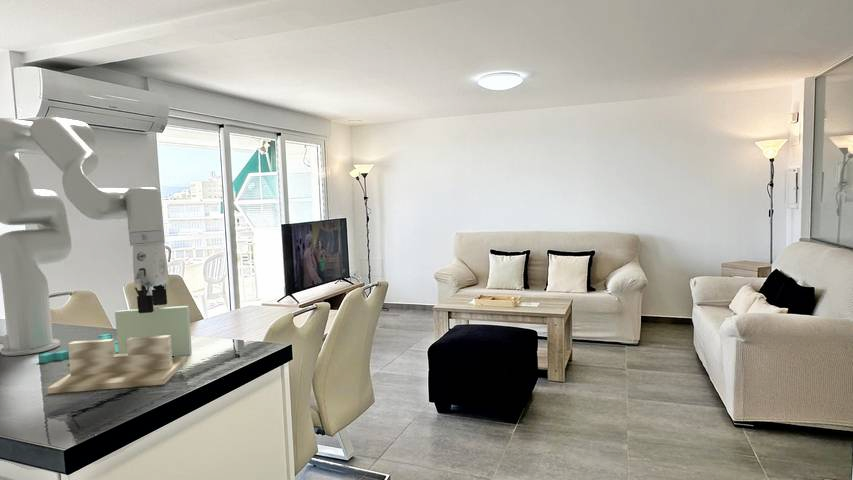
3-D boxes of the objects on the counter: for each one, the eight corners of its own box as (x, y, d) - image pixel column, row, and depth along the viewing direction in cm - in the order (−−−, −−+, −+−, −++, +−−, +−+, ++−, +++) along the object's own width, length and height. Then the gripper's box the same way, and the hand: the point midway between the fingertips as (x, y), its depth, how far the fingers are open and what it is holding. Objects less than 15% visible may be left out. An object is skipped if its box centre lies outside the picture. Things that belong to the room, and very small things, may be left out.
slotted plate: (118, 361, 126) (115, 311, 125) (121, 358, 128) (118, 310, 127) (189, 355, 129) (186, 307, 128) (191, 352, 131) (188, 305, 130)
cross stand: (47, 393, 105) (44, 353, 104) (86, 368, 121) (83, 333, 120) (164, 384, 109) (161, 345, 108) (186, 361, 124) (184, 327, 124)
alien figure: (39, 364, 127) (109, 367, 123) (38, 355, 127) (108, 358, 123) (105, 341, 147) (168, 343, 142) (104, 333, 146) (167, 335, 142)
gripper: (151, 240, 119) (157, 314, 120) (174, 235, 136) (180, 301, 137) (115, 242, 117) (122, 317, 119) (143, 237, 134) (149, 303, 136)
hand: (153, 308), depth 128 cm, fingers open, 9 cm apart
